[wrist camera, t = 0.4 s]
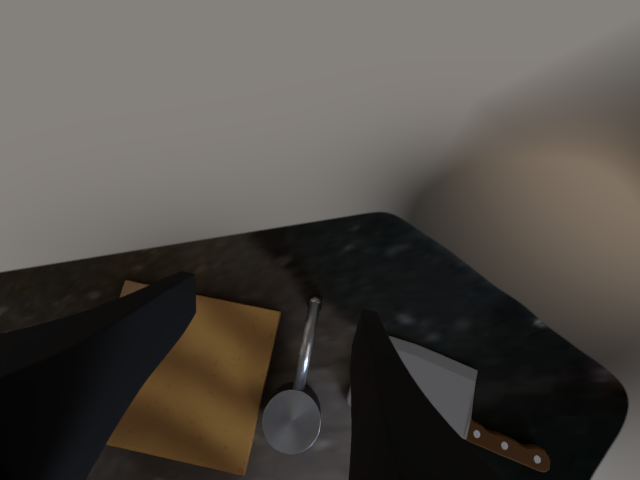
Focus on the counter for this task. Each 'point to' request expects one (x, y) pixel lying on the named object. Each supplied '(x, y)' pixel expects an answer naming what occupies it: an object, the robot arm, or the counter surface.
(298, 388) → the grey disc-end rod
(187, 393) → the chopping board
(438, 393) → the kitchen cleaver
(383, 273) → the counter surface
